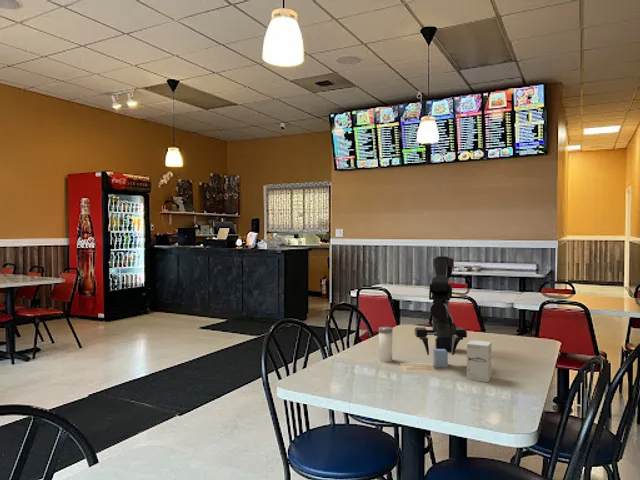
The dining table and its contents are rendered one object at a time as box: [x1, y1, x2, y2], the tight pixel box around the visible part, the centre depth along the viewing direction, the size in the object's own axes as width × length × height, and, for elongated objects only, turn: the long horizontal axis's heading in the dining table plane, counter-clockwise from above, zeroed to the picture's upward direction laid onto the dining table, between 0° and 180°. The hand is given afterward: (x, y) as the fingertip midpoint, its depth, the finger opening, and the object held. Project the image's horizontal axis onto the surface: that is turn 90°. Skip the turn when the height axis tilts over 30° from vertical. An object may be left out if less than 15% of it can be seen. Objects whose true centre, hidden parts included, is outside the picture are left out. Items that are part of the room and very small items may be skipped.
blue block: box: [432, 348, 449, 368], centre depth 185 cm, size 4×4×6 cm
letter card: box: [399, 362, 438, 373], centre depth 182 cm, size 12×12×1 cm
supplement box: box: [466, 339, 493, 383], centre depth 169 cm, size 7×7×13 cm
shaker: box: [378, 326, 394, 363], centre depth 193 cm, size 5×5×13 cm
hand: (440, 355), depth 185 cm, fingers open, 9 cm apart
